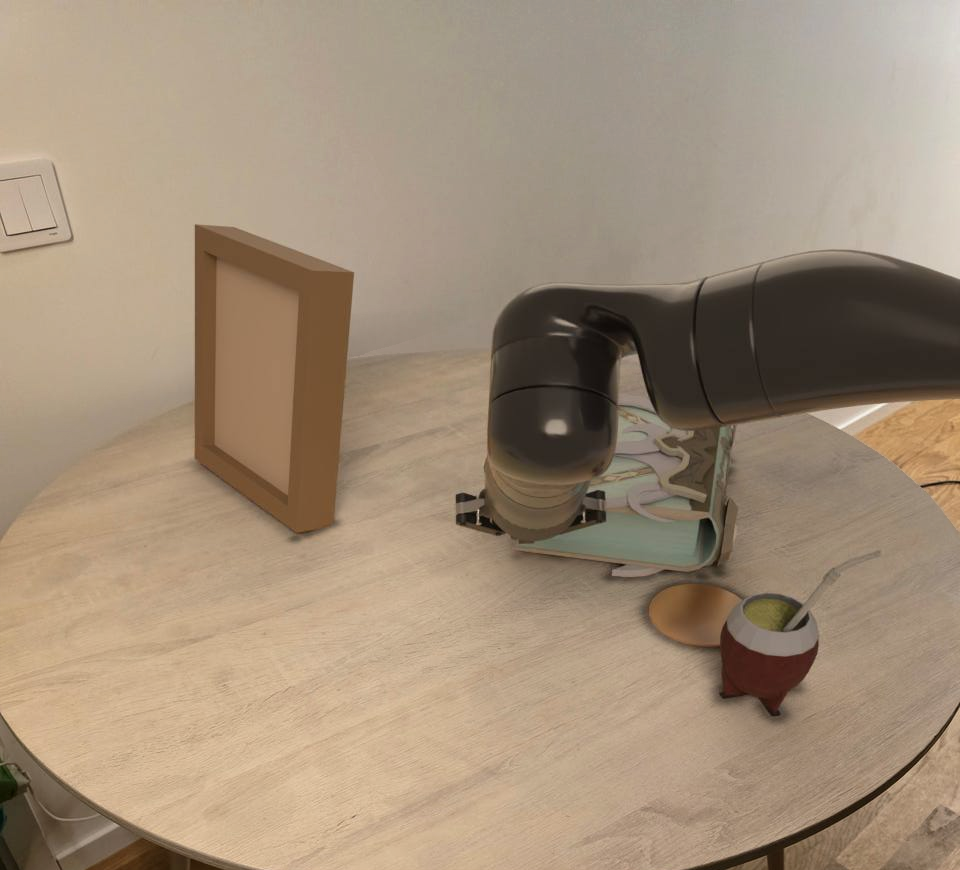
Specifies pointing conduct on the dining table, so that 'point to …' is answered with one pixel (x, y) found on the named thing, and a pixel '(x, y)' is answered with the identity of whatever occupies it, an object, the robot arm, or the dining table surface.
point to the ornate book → (657, 499)
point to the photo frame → (270, 371)
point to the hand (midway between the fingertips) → (526, 532)
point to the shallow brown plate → (692, 613)
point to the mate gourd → (772, 642)
